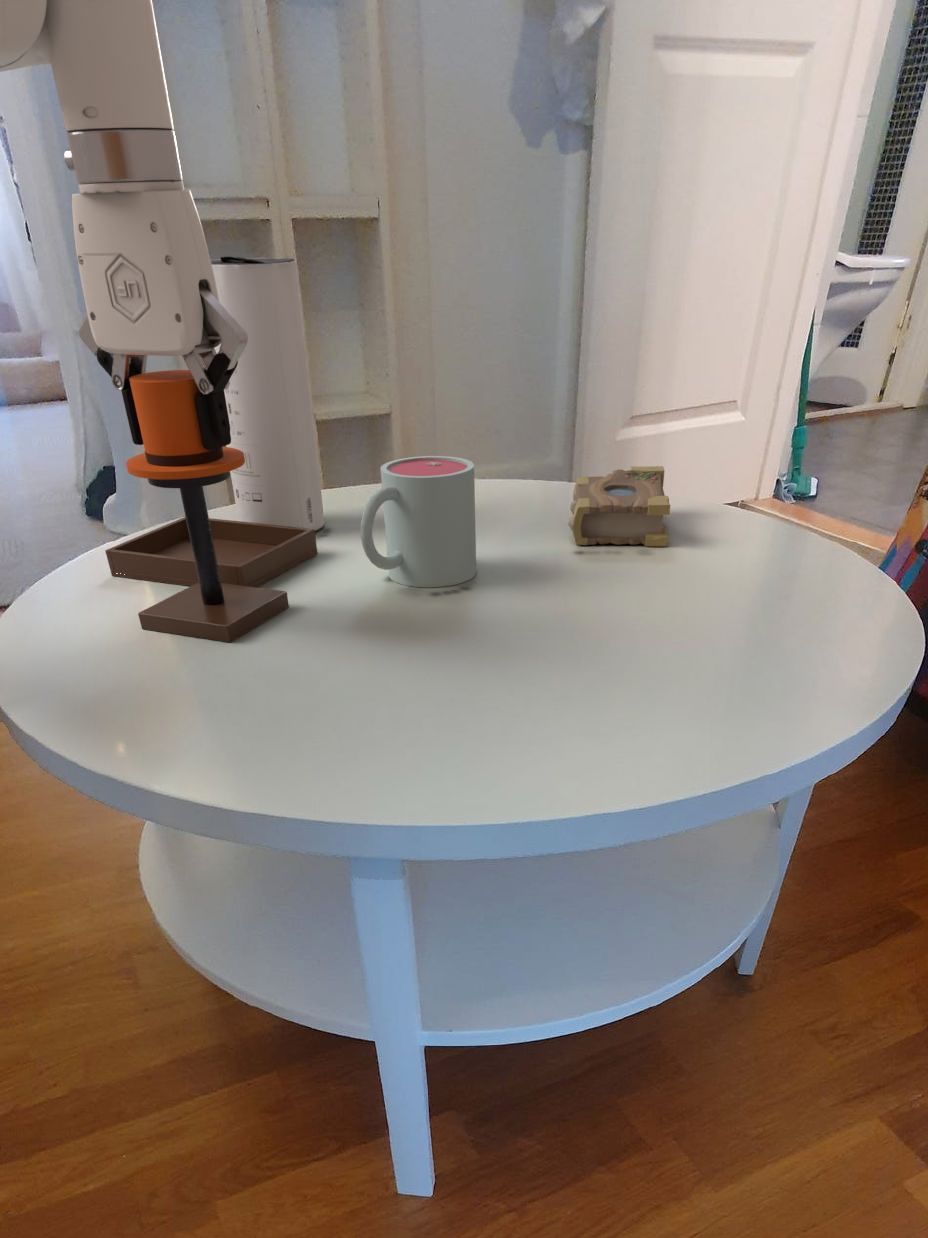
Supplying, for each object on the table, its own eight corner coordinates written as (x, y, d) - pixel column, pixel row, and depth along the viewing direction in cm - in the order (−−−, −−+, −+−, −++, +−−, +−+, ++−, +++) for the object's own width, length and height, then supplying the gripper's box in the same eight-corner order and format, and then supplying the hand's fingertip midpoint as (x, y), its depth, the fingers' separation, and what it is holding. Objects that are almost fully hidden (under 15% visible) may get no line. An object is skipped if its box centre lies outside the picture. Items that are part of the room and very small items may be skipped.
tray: (111, 576, 100) (104, 550, 98) (192, 539, 110) (187, 515, 108) (245, 593, 95) (240, 566, 93) (317, 553, 104) (314, 528, 103)
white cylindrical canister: (344, 526, 113) (316, 252, 96) (273, 545, 107) (230, 258, 90) (291, 511, 119) (256, 250, 102) (222, 528, 113) (172, 256, 96)
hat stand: (141, 629, 88) (102, 474, 79) (205, 595, 94) (175, 450, 86) (230, 642, 84) (199, 483, 76) (289, 607, 91) (267, 457, 83)
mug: (432, 554, 103) (428, 452, 97) (494, 571, 98) (493, 464, 92) (337, 585, 96) (325, 477, 89) (398, 605, 91) (390, 492, 84)
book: (667, 547, 103) (672, 497, 100) (567, 547, 104) (569, 498, 101) (658, 511, 114) (663, 466, 111) (568, 512, 115) (569, 467, 112)
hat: (102, 474, 79) (79, 383, 75) (175, 450, 86) (158, 365, 82) (199, 483, 76) (181, 388, 72) (267, 457, 83) (254, 368, 78)
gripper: (0, 171, 68) (73, 447, 80) (193, 162, 63) (242, 460, 75) (71, 170, 74) (130, 430, 85) (256, 162, 68) (292, 441, 80)
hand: (182, 442), depth 80 cm, fingers open, 6 cm apart
